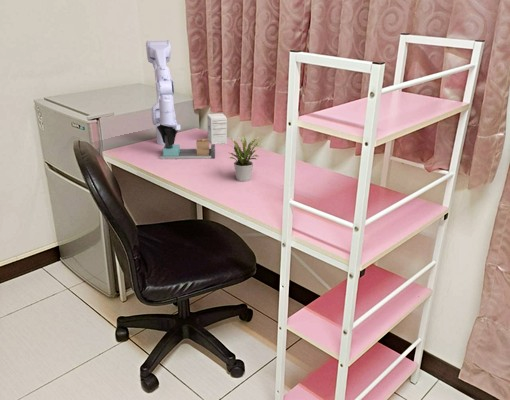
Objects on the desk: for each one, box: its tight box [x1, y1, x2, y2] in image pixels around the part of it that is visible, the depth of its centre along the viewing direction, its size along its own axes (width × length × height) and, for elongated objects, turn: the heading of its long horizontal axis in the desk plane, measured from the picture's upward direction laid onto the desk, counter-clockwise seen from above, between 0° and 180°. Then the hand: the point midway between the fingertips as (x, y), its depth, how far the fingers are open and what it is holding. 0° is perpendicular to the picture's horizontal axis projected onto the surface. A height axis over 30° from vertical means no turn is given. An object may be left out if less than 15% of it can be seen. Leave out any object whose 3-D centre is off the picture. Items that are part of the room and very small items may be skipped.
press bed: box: [159, 143, 216, 160], centre depth 206 cm, size 10×22×4 cm, turn 94°
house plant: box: [228, 135, 264, 182], centre depth 183 cm, size 14×14×16 cm
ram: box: [163, 135, 181, 156], centre depth 205 cm, size 8×6×8 cm
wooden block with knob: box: [196, 138, 210, 156], centre depth 206 cm, size 5×5×6 cm
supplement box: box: [206, 112, 228, 146], centre depth 223 cm, size 7×7×13 cm
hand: (168, 143), depth 204 cm, fingers closed on ram, 3 cm apart
